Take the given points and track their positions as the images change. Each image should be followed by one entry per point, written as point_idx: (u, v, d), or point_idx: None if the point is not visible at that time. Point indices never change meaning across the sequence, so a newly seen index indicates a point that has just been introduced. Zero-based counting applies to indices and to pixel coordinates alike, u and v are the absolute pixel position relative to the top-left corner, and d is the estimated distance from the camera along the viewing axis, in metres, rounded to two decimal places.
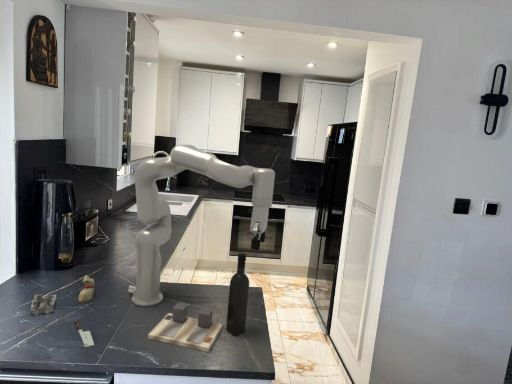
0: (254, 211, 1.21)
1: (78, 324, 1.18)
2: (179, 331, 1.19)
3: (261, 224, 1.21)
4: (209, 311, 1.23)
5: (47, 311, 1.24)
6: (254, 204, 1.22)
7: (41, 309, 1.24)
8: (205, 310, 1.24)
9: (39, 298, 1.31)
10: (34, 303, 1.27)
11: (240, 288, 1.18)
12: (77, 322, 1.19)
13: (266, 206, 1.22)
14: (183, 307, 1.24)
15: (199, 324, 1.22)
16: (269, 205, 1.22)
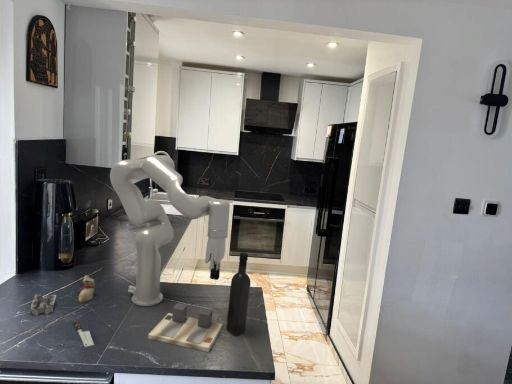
0: (208, 243, 1.22)
1: (77, 324, 1.18)
2: (179, 331, 1.19)
3: (215, 256, 1.22)
4: (209, 311, 1.23)
5: (47, 311, 1.24)
6: (209, 236, 1.23)
7: (41, 309, 1.24)
8: (205, 310, 1.24)
9: (39, 298, 1.32)
10: (34, 303, 1.27)
11: (242, 287, 1.19)
12: (76, 322, 1.19)
13: (221, 238, 1.22)
14: (183, 307, 1.24)
15: (199, 324, 1.22)
16: (224, 236, 1.23)
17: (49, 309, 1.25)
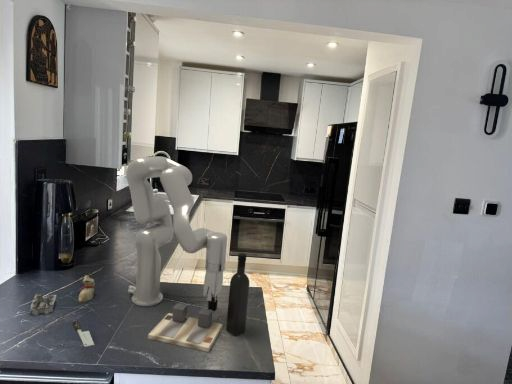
0: (206, 276, 1.24)
1: (77, 324, 1.18)
2: (179, 331, 1.19)
3: (213, 289, 1.24)
4: (209, 311, 1.23)
5: (46, 311, 1.24)
6: (207, 269, 1.25)
7: (40, 309, 1.24)
8: (205, 310, 1.24)
9: (39, 298, 1.32)
10: (34, 303, 1.27)
11: (241, 287, 1.18)
12: (76, 322, 1.19)
13: (218, 271, 1.25)
14: (183, 307, 1.24)
15: (199, 324, 1.22)
16: (221, 269, 1.25)
17: (49, 309, 1.25)
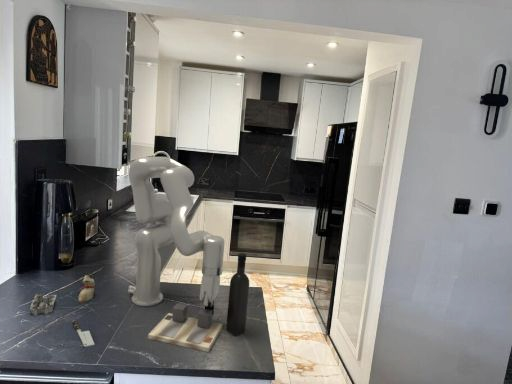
0: (203, 281, 1.21)
1: (76, 324, 1.18)
2: (179, 331, 1.19)
3: (210, 294, 1.21)
4: (209, 311, 1.23)
5: (46, 311, 1.24)
6: (203, 273, 1.22)
7: (40, 309, 1.24)
8: (205, 310, 1.23)
9: (39, 298, 1.32)
10: (34, 303, 1.27)
11: (240, 288, 1.18)
12: (75, 322, 1.19)
13: (215, 275, 1.21)
14: (183, 307, 1.24)
15: (199, 324, 1.22)
16: (218, 274, 1.22)
17: (48, 309, 1.25)
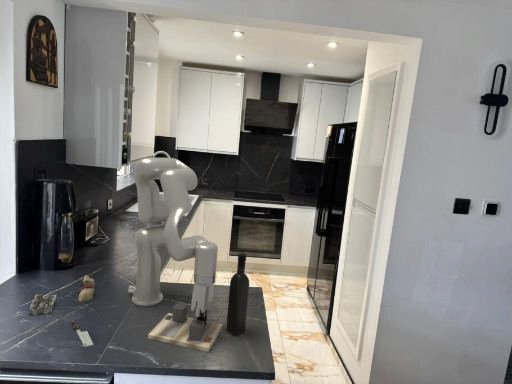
0: (194, 290, 1.13)
1: (75, 324, 1.18)
2: (179, 331, 1.19)
3: (202, 304, 1.13)
4: (201, 322, 1.15)
5: (46, 311, 1.24)
6: (195, 281, 1.14)
7: (40, 309, 1.24)
8: (197, 321, 1.16)
9: (40, 298, 1.32)
10: (34, 303, 1.27)
11: (240, 288, 1.18)
12: (74, 323, 1.19)
13: (207, 284, 1.14)
14: (183, 307, 1.24)
15: (190, 336, 1.14)
16: (211, 283, 1.15)
17: (48, 309, 1.25)
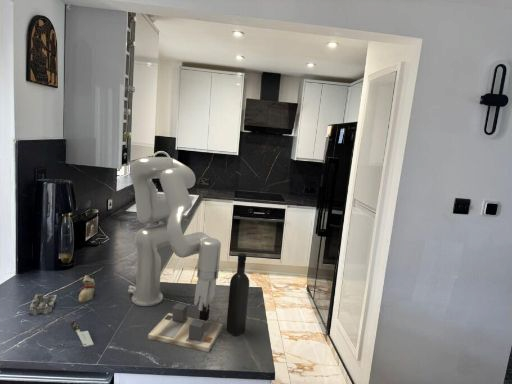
0: (198, 285, 1.17)
1: (75, 324, 1.18)
2: (179, 331, 1.19)
3: (205, 298, 1.17)
4: (201, 322, 1.15)
5: (45, 311, 1.24)
6: (198, 276, 1.18)
7: (39, 309, 1.24)
8: (197, 321, 1.16)
9: (40, 298, 1.32)
10: (34, 303, 1.27)
11: (240, 288, 1.18)
12: (74, 322, 1.19)
13: (210, 279, 1.17)
14: (183, 307, 1.24)
15: (190, 336, 1.14)
16: (214, 278, 1.18)
17: (48, 309, 1.25)
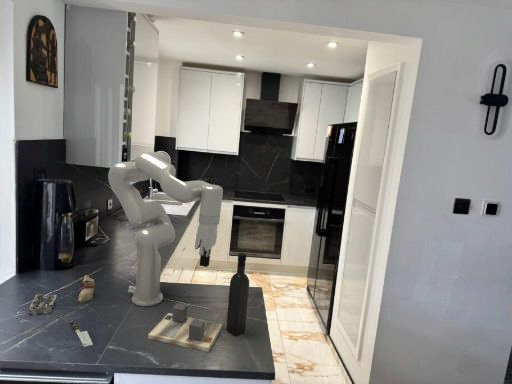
0: (199, 229, 1.18)
1: (75, 324, 1.18)
2: (179, 331, 1.19)
3: (205, 242, 1.18)
4: (201, 322, 1.15)
5: (45, 311, 1.24)
6: (200, 221, 1.20)
7: (39, 309, 1.24)
8: (197, 321, 1.16)
9: (40, 298, 1.32)
10: (34, 303, 1.27)
11: (240, 288, 1.18)
12: (73, 323, 1.19)
13: (212, 224, 1.19)
14: (183, 307, 1.24)
15: (190, 336, 1.14)
16: (215, 223, 1.20)
17: (47, 309, 1.25)
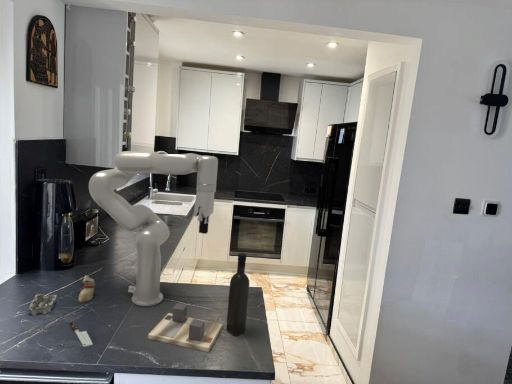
0: (197, 196, 1.27)
1: (74, 325, 1.18)
2: (179, 331, 1.19)
3: (204, 209, 1.27)
4: (201, 322, 1.15)
5: (44, 311, 1.24)
6: (198, 190, 1.28)
7: (39, 309, 1.24)
8: (197, 321, 1.16)
9: (40, 298, 1.32)
10: (34, 302, 1.27)
11: (240, 288, 1.18)
12: (72, 323, 1.19)
13: (209, 191, 1.28)
14: (183, 307, 1.24)
15: (190, 336, 1.14)
16: (212, 191, 1.28)
17: (47, 309, 1.25)
